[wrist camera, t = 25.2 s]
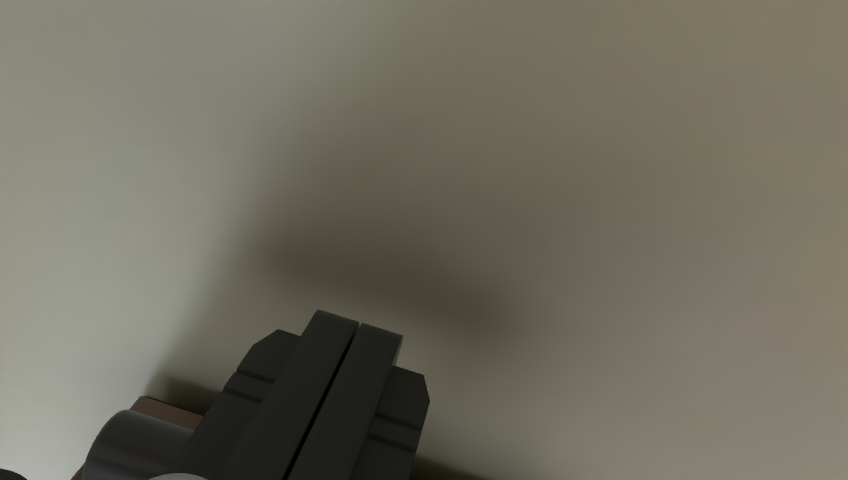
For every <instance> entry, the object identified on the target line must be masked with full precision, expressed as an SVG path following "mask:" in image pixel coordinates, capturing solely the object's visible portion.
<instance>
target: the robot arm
mask: <svg viewBox="0 0 848 480" xmlns="http://www.w3.org/2000/svg"><path fill="white" fill-rule="evenodd" d="M359 326H360V323H359V322H357V321H354V320H351V319H348V318H344V317H341V316H338V315H335V314H332V313H328V312H325V311H322V310H317V311H316V312H315V314H314V315H313V317H312V319H311V320H310V322H309V324H308V325H307V327H306V329H305V330H304V332H303V334H302V336H298V335H295V334H291V333H288V332H285V331H282V330H279V329H278V330H276V331H275V332H273V333H271V334H270V335H268V336H267V337H265V338H263V339H262V340H260V341H259V342H257V343H255V344H254V345H253V346H252V347H251V349H250V350H249V352H248V353H247V354H246V356H245V357H244V359H243V360H242V362H241V363H240V365H239V366H238V368H237V371H236V373H235V372H234V373H233V375H232V376H231V378H230V379H229V381H228V382H227V384H226V385H225V387H224V390H223V392H220V394H219V395H218V397H217V398H216V400H215V401H214V403H213V404H212V406H211V407H210V408H209V410H208V411H207V413H206V414H205V416H204V417H203V419H202V420H201V422H200V423H199V425H198V426H197V427H196V429H195V430H194V432H193V433H192V435H191V436H190V438H189V439H188V441H187V442H186V444H185V445H184V446H183V448H182V449H181V451H180V452H179V454H178V455H177V457H176V458H175V460H174V461H173V462H172V464H171V465H170V466H169V468H168V469H167V470H166V471H165V472H164V473H163V474H162V475H161V476H157V477H154V478H151V479H149V480H408V479H409V476H410V472H411V468H412V465H413V461H414V457H415V453H416V450H417V446H418V443H419V439H420V435H421V431H422V428H423V424H424V421H425V417H426V413H427V410H428V406H429V402H430V400H429V396H428V391H427V387H426V383H425V379H424V375H422V374H419V373H416V372H413V371H409V370H406V369H403V368H400V367H397V366H396V362H397V358H398V355H399V351H400V347H401V344H402V339H403V335H399V334H396V333H393V332H390V331H387V330H383V329H380V328H377V327H374V326H371V325H367V324H364V323H362V324H361V326H360V327H359ZM0 480H27V479H26V478H24V477H23V476H21V475H20V474H17V473H15V472H12V471H9V470H5V469H0Z"/></svg>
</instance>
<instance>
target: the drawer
mask: <svg viewBox="0 0 848 480" xmlns="http://www.w3.org/2000/svg"><path fill="white" fill-rule="evenodd" d="M203 417H204V416H202V415H199V414H195V413H192V412H189V411H186V410H183V409H180V408H177V407H174V406H171V405H168V404H165V403H162V402H159V401H156V400H153V399H149V398H146V397H143V396H141V397H139V399H138V400H137V401H136V402H135V403H134V404H133V406H132V407H131V408H130V409H129V410H122V411H120V412H118V413H116V414H115V415H114V416H113V417H112V418H110V420H109V421H108V422H107V423H106V424H105V425H104V427H103V428H102V429H101V431H100V432H99V434H98V435H97V437H96V439H95V441H94V442H93V444H92V446H91V449H90V451H89V453H88V456H87V458H86V461H85V463H84V464H83V465H82V467H81V468H80V469H79V470H78V471H77V473H76V474H75V475H74V476H73V477H72V479H71V480H149V479H151V478H154V477H157V476H161V475H162V474H163V473H164V472H165V471H166V470H167V469H168V468H169V466H170V465H171V464H172V462H173V461H174V460H175V458H176V457H177V455H178V454H179V452H180V451H181V449H182V448H183V446H184V445H185V444H186V442H187V441H188V439H189V438H190V436H191V435H192V433H193V432H194V430H195V429H196V427H197V426H198V425H199V423H200V422H201V420H202V419H203Z"/></svg>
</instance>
